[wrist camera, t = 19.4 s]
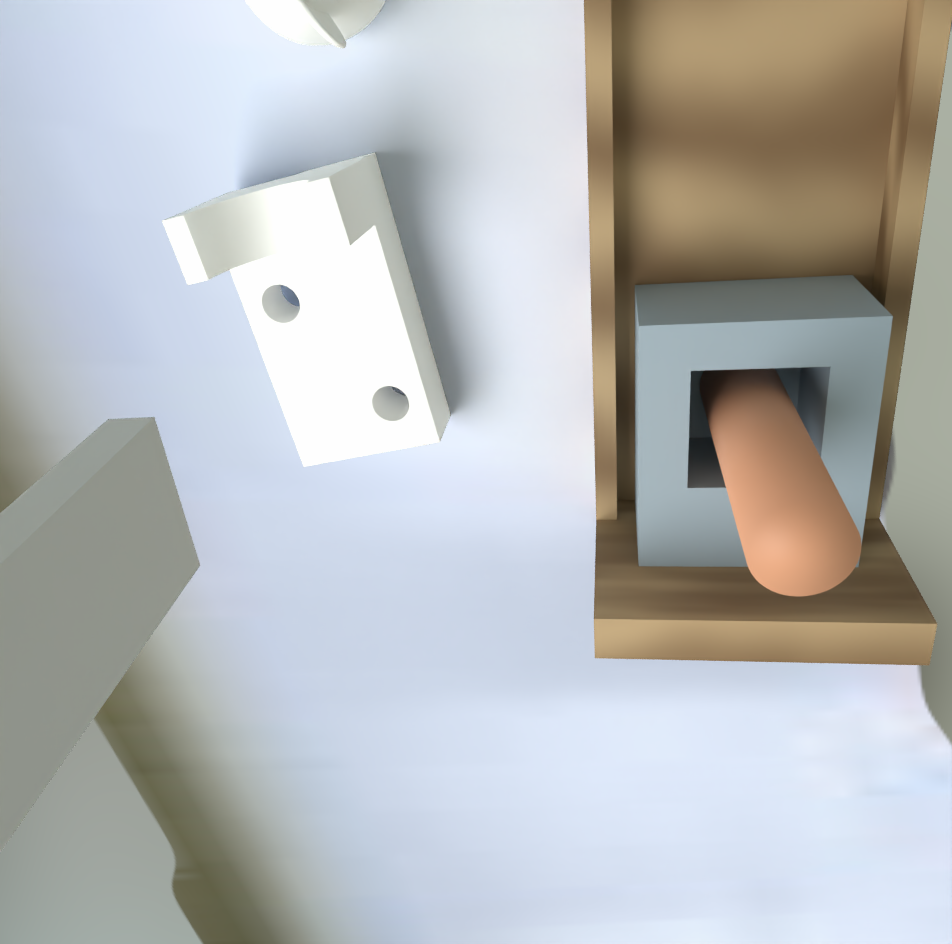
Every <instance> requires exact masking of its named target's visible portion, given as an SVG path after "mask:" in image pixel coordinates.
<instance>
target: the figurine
mask: <svg viewBox="0 0 952 944" xmlns="http://www.w3.org/2000/svg"><path fill="white" fill-rule="evenodd" d="M245 1H246V2H247V4H248V5H249V7H250V8H251V9H252V10H253V12H254V13H255V14H256V15H257V16H258V17H259V18H260V19H261V20H262V22H264V23H265V24H266V25H267V26H268V27H269V28H270V29H272V30H273V31H274V32H276V33H277V34H279V35H280V36H282V37H284V38H286V39H288V40H290V41H293V42H295V43H299V44H303V45H308V46H326V45H332V44H333V45H334V46H336V47H338V48H345V47H346V41H345V40H347V39H349V38H351V37H353V36H355V35H356V34H358V33H359V32H361V31H362V30H363V29H365V28H366V27H367V26H368V25H369V24H370V23H371V22H372V21H373V20H374V18H375V17H376V16H377V14H378V13H379V12H380V10H381V9H382V7H383V5H384V3H385V1H386V0H245Z"/></svg>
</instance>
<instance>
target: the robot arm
mask: <svg viewBox="0 0 952 944" xmlns="http://www.w3.org/2000/svg"><path fill="white" fill-rule="evenodd" d="M199 566H200V563H199V560H198V557H197V554H196V550H195V547H194V544H193V541H192V537H191V534H190V531H189V528H188V525H187V521H186V518H185V515H184V512H183V508H182V505H181V502H180V499H179V495H178V492H177V489H176V486H175V483H174V479H173V476H172V473H171V470H170V466H169V463H168V460H167V457H166V453H165V450H164V447H163V444H162V440H161V437H160V434H159V431H158V428H157V424H156V421H155V418H154V417H147V418H125V419H108V420H107V421H106V422H105V423H103V424H102V425H101V426H100V427H99V428H98V429H97V430H95V431H94V432H93V433H92V434H91V435H90V436H89V437H87V438H86V439H85V440H84V441H83V442H82V443H80V444H79V445H78V446H77V447H76V448H75V449H74V450H72V451H71V452H70V453H69V454H68V455H67V456H66V457H64V458H63V459H62V460H61V461H60V462H59V463H58V464H56V465H55V466H54V467H53V468H52V469H51V470H49V471H48V472H47V473H46V474H45V475H44V476H43V477H41V478H40V479H39V480H38V481H37V482H36V483H35V484H33V485H32V486H31V487H30V488H29V489H28V490H27V491H25V492H24V493H23V494H22V495H21V496H20V497H18V498H17V499H16V500H15V501H14V502H13V503H12V504H10V505H9V506H8V507H7V508H6V509H5V510H4V511H2V512H1V513H0V852H1V851H2V849H3V848H4V847H5V845H6V844H7V842H8V841H9V839H10V838H11V836H12V835H13V833H14V832H15V831H16V829H17V828H18V826H19V825H20V824H21V822H22V821H23V819H24V818H25V816H26V815H27V813H28V812H29V810H30V809H31V808H32V806H33V805H34V803H35V802H36V801H37V799H38V798H39V796H40V795H41V793H42V792H43V790H44V789H45V788H46V786H47V785H48V783H49V782H50V780H51V779H52V778H53V776H54V774H55V773H56V772H57V770H58V769H59V767H60V766H61V765H62V763H63V762H64V760H65V759H66V757H67V756H68V754H69V753H70V751H71V750H72V749H73V747H74V746H75V744H76V743H77V741H78V740H79V739H80V737H81V736H82V734H83V733H84V732H85V730H86V729H87V727H88V726H89V724H90V723H91V721H92V720H93V719H94V717H95V716H96V714H97V713H98V711H99V710H100V709H101V707H102V706H103V704H104V703H105V701H106V700H107V698H108V697H109V696H110V694H111V693H112V691H113V690H114V688H115V687H116V686H117V684H118V683H119V681H120V680H121V678H122V677H123V675H124V674H125V673H126V671H127V670H128V668H129V667H130V665H131V664H132V663H133V661H134V660H135V658H136V657H137V655H138V654H139V652H140V651H141V650H142V648H143V647H144V645H145V644H146V642H147V641H148V640H149V638H150V637H151V635H152V634H153V632H154V631H155V629H156V628H157V627H158V625H159V624H160V622H161V621H162V619H163V618H164V617H165V615H166V614H167V612H168V611H169V609H170V608H171V606H172V605H173V604H174V602H175V601H176V599H177V598H178V596H179V595H180V594H181V592H182V591H183V589H184V588H185V586H186V585H187V583H188V582H189V581H190V579H191V578H192V576H193V575H194V573H195V572H196V571H197V569H198V568H199Z"/></svg>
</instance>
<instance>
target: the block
mask: <svg viewBox="0 0 952 944" xmlns="http://www.w3.org/2000/svg"><path fill="white" fill-rule="evenodd" d="M892 319H893V316H892V315H891V314H890V313H889V312H888V311H887V310H886V309H885V308H884V307H883V306H882V305H881V303H880V302H879V301H878V300H877V299H876V298H875V297H874V296H873V295H872V294H871V293H870V292H869V291H868V290H867V289H866V288H865V287H864V286H863V285H862V284H861V283H860V282H859V281H858V280H857V279H856V278H855V277H854V276H853V275H841V276H819V277H798V278H776V279H755V280H733V281H712V282H690V283H669V284H647V285H635V510H636V528H637V546H638V564H639V566H684V567H748V565H747V562H746V558H745V555H744V551H743V547H742V544H741V540H740V537H739V533H738V529H737V526H736V522H735V518H734V515H733V511H732V507H731V504H730V500H729V497H728V493H727V489H726V486H725V482H724V478H723V475H722V471H721V468H720V464H719V460H718V457H717V453H716V449H715V446H714V442H713V438H712V435H711V431H710V428H709V424H708V420H707V417H706V413H705V409H704V406H703V402H702V398H701V395H700V379H701V376H702V373H703V371H704V370H735V369H768V368H775V370H776V372H777V373H778V375H779V377H780V379H781V381H782V383H783V385H784V387H785V389H786V391H787V393H788V395H789V397H790V399H791V401H792V403H793V405H794V407H795V408H796V410H797V412H798V414H799V416H800V418H801V420H802V422H803V424H804V426H805V428H806V430H807V432H808V434H809V436H810V438H811V440H812V441H813V443H814V445H815V447H816V449H817V451H818V453H819V455H820V457H821V459H822V461H823V463H824V465H825V467H826V469H827V471H828V473H829V475H830V476H831V478H832V480H833V482H834V484H835V486H836V488H837V490H838V492H839V494H840V496H841V498H842V500H843V502H844V504H845V506H846V508H847V509H848V511H849V513H850V515H851V517H852V519H853V521H854V523H855V525H856V527H857V529H858V531H859V534H860V537H861V546H862V538H863V531H864V524H865V517H866V509H867V502H868V495H869V487H870V480H871V473H872V465H873V458H874V451H875V443H876V436H877V429H878V422H879V414H880V407H881V400H882V392H883V385H884V378H885V370H886V363H887V356H888V348H889V341H890V334H891V327H892ZM859 560H860V558H859ZM859 560H858V563H857V565H856V566H855V567H859Z"/></svg>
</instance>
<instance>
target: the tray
mask: <svg viewBox="0 0 952 944" xmlns="http://www.w3.org/2000/svg"><path fill="white" fill-rule="evenodd" d="M951 22H952V0H584V23H585V64H586V106H587V148H588V189H589V231H590V273H591V314H592V356H593V398H594V439H595V481H596V557H595V597H594V639H595V658H615V659H662V660H709V661H755V662H802V663H849V664H896V665H929V664H930V659H931V653H932V648H933V643H934V638H935V632H936V627H937V623H936V621H935V619H934V617H933V615H932V613H931V612H930V610H929V608H928V606H927V604H926V603H925V601H924V599H923V597H922V596H921V594H920V592H919V590H918V588H917V586H916V584H915V583H914V581H913V579H912V577H911V576H910V574H909V572H908V570H907V569H906V566H905V564H904V563H903V561H902V559H901V557H900V555H899V554H898V552H897V550H896V548H895V546H894V545H893V543H892V541H891V539H890V537H889V535H888V534H887V532H886V530H885V528H884V526H883V525H882V523H881V521H880V519H879V517H880V510H881V503H882V497H883V490H884V483H885V476H886V469H887V462H888V455H889V448H890V442H891V435H892V428H893V421H894V414H895V407H896V400H897V393H898V386H899V380H900V373H901V366H902V359H903V352H904V345H905V338H906V331H907V325H908V318H909V311H910V304H911V296H912V290H913V282H914V276H915V269H916V263H917V256H918V249H919V242H920V235H921V228H922V221H923V214H924V207H925V200H926V193H927V187H928V180H929V173H930V166H931V159H932V152H933V146H934V139H935V131H936V125H937V118H938V111H939V104H940V97H941V90H942V84H943V77H944V70H945V63H946V56H947V49H948V42H949V35H950V29H951ZM841 275H853V276H854V277H855V278H856V279H857V280H858V281H859V282H860V283H861V284H862V285H863V286H864V287H865V288H866V289H867V290H868V291H869V292H870V293H871V294H872V295H873V296H874V297H875V298H876V299H877V300H878V301H879V302H880V303H881V305H882V306H883V307H884V308H885V309H886V310H887V311H888V312H889V313H890V314H891V315H892V316H893V319H892V327H891V334H890V341H889V348H888V356H887V363H886V370H885V378H884V385H883V392H882V400H881V407H880V414H879V422H878V429H877V436H876V443H875V451H874V458H873V465H872V473H871V480H870V487H869V495H868V502H867V509H866V517H865V524H864V531H863V538H862V546H861V554H860V560H859V567H855V568H854V570H853V571H852V572H851V574H850V575H849V576H848V577H847V578H846V579H845V580H844V581H842V582H841V583H840V584H838V585H837V586H835V587H833V588H831V589H829V590H827V591H825V592H822V593H819V594H815V595H810V596H787V595H782V594H779V593H776V592H773V591H771V590H769V589H767V588H766V587H764V586H763V585H761V584H760V583H759V582H758V581H757V580H756V579H755V578H754V576H753V575H752V574H751V572H750V570H749V568H748V567H684V566H639V564H638V546H637V528H636V510H635V285H647V284H669V283H690V282H712V281H733V280H755V279H776V278H798V277H819V276H841Z"/></svg>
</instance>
